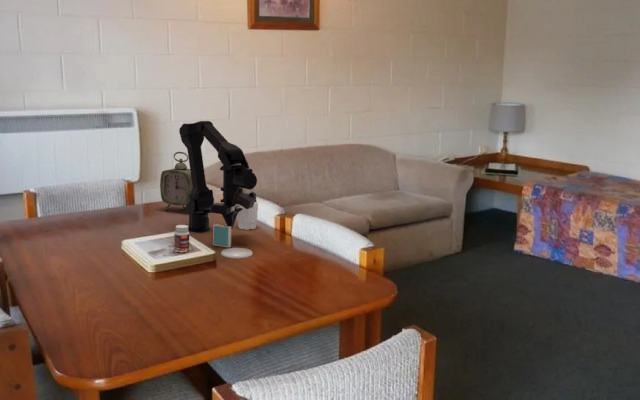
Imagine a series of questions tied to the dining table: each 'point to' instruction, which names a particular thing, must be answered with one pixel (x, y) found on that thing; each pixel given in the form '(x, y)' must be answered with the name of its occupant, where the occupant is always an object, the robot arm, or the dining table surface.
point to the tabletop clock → (176, 184)
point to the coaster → (236, 253)
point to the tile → (222, 235)
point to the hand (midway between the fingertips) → (230, 228)
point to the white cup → (248, 217)
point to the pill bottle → (181, 238)
